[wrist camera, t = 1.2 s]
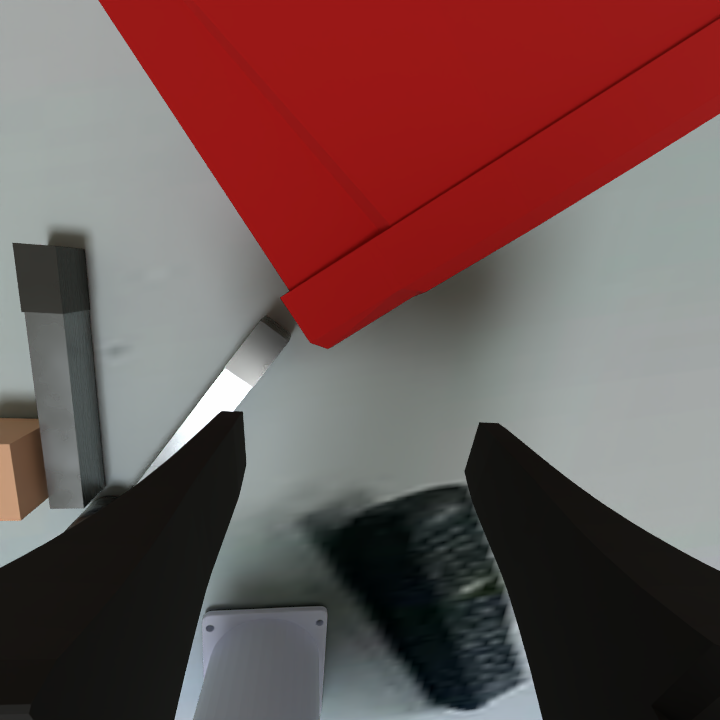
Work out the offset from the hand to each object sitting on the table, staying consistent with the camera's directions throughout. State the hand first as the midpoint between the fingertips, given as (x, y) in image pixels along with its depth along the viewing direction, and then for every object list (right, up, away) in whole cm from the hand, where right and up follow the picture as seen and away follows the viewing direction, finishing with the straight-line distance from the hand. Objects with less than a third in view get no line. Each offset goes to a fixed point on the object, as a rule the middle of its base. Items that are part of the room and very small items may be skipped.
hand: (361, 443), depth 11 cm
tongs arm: (-10, -1, +9) cm, 14 cm away
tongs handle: (-15, +2, +8) cm, 17 cm away
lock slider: (-18, -3, +9) cm, 20 cm away
